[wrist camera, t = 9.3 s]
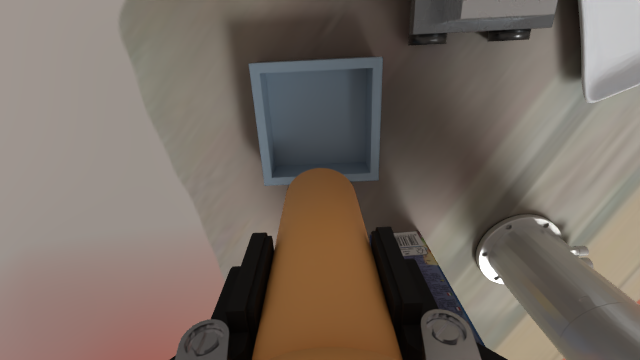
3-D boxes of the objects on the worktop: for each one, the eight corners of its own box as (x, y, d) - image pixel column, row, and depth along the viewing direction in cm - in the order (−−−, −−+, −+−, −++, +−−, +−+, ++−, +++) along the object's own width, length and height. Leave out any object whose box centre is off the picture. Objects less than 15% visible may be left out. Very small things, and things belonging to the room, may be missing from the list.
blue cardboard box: (369, 234, 46) (420, 405, 24) (419, 230, 45) (515, 398, 23) (371, 294, 50) (414, 483, 28) (415, 290, 50) (494, 478, 28)
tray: (374, 56, 36) (382, 56, 31) (371, 166, 41) (378, 180, 37) (257, 62, 36) (248, 63, 31) (270, 170, 41) (264, 185, 37)
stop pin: (365, 156, 16) (479, 396, 5) (364, 236, 18) (443, 533, 7) (271, 161, 16) (174, 409, 5) (281, 240, 18) (225, 542, 7)
